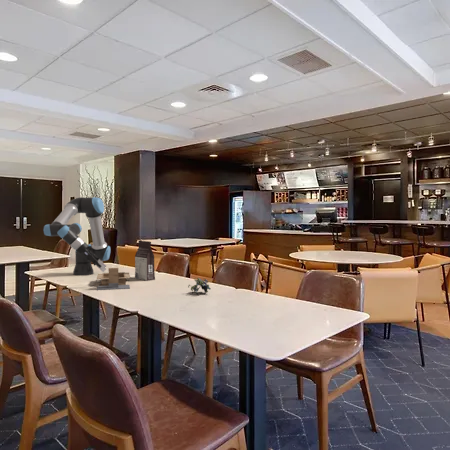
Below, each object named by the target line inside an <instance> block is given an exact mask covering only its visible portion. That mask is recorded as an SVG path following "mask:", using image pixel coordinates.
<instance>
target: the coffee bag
mask: <svg viewBox="0 0 450 450" xmlns="http://www.w3.org/2000/svg"><path fill="white" fill-rule="evenodd" d="M151 248H152V242H151V241H147V240H138V248H137V251H136V252H135V255H134V267H135V268H134V279H138V280H139V279H140V280H142V281H146V282H148V281H154V280H156V276H155V275H156V273H155V254H154V252H153V250H152V249H151Z"/></svg>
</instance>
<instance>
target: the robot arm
mask: <svg viewBox="0 0 450 450" xmlns="http://www.w3.org/2000/svg"><path fill="white" fill-rule="evenodd" d="M63 207H64V208H63V210H62V211H61V212H60V213H59V214H58V216H57V217H56V218H55V219H54V221H52V222H51V224H50V223H48V224H45V225H44V226H43V234H44V236H46V237H60V239H62V240H63V241H64V242H66V243H67V244H68V245H69V246H70V248H71V249H74V250H75V251H74V252H75V255H74V256H75V265H74V268H73V272H72V274H73V275H74V276H88V275H93V274H94V273H95V272H94V268H93V266H94V267H95V266H96V267H97V268H98V269H99V270H100V271H101V272H102V273H105V271H106V270H107V265H106V264H105V263H104V261H108V260H109V259H110V256H111V252H112V251H111V246H110V245H108V243H107V242H106V240H105V238H104V237H105V236H104V228H103V224H102V217H101V216H102V215H103V213H104V211H105V205H104V201H103V200H102V198H100V197H94V196H93V197H82V196H81V197H76V198H74V199H73V198H72V200H70V201H68V202H67V203H66V204H65V205H64V206H63ZM77 214H85V217H86V218H88V221H89V227H90V232H91V233H90V234H91V238H92V244H91V243H89V244H88V243H86V242H84V240H83V238H81V237H80V236H79V235H80V234H81V232H82V229H83V228H82V225H81V224H80V223H79V222H74V223H71V224H68V223H69V222H70V221H71V219H72V218H73V216H76V215H77Z"/></svg>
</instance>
